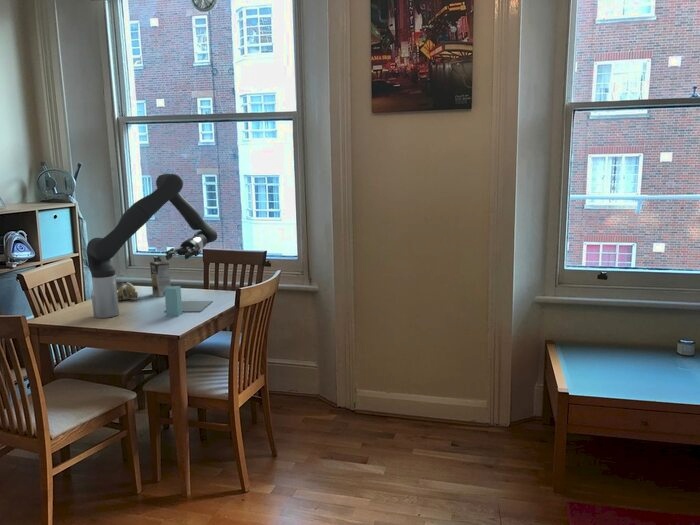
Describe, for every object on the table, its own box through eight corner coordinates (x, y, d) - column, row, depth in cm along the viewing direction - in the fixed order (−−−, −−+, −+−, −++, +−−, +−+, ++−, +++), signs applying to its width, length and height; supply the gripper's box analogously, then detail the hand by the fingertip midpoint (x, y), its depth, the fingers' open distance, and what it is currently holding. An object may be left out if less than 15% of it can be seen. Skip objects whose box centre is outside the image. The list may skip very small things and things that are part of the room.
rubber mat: (164, 312, 238) (164, 311, 238) (178, 302, 255) (178, 301, 255) (200, 312, 237) (200, 310, 237) (212, 301, 255) (212, 300, 255)
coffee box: (152, 294, 273) (149, 262, 270) (164, 292, 277) (162, 260, 275) (159, 297, 266) (156, 264, 264) (172, 295, 270) (169, 262, 268)
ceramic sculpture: (138, 277, 271) (135, 285, 257) (139, 294, 273) (137, 302, 259) (114, 279, 268) (111, 287, 254) (116, 296, 270) (113, 305, 256)
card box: (166, 316, 231) (164, 288, 229) (170, 313, 236) (168, 286, 234) (178, 316, 231) (176, 288, 229) (182, 313, 236) (180, 285, 234)
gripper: (175, 239, 252) (159, 249, 237) (205, 237, 250) (190, 248, 235) (179, 254, 255) (162, 266, 239) (208, 253, 252) (193, 265, 237)
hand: (176, 257), depth 237 cm, fingers open, 8 cm apart
